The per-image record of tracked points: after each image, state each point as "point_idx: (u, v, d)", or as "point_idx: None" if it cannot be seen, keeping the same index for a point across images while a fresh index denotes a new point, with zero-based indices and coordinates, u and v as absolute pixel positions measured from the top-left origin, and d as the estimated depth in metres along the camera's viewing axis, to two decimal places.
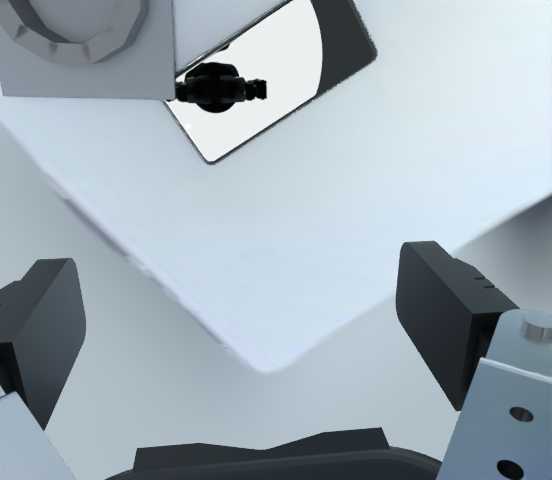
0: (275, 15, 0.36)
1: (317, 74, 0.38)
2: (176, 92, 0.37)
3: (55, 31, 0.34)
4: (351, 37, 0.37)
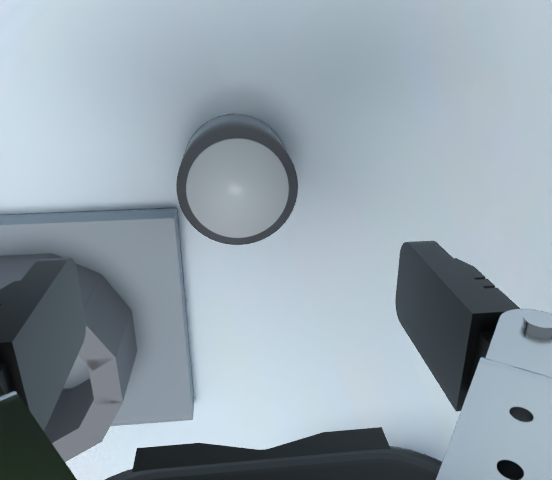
0: None
1: None
2: None
3: None
4: None
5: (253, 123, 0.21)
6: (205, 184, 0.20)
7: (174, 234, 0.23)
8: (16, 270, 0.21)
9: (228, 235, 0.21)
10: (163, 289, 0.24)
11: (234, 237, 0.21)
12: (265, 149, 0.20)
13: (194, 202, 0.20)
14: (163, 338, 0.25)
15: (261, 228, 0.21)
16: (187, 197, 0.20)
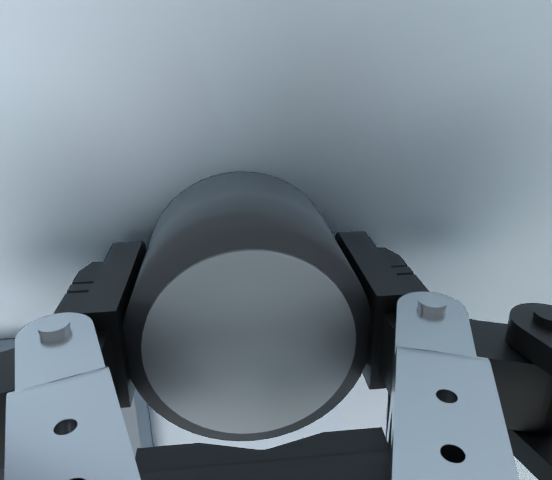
0: None
1: None
2: None
3: None
4: None
5: (279, 201, 0.11)
6: (182, 341, 0.09)
7: None
8: None
9: (230, 429, 0.10)
10: None
11: (243, 430, 0.11)
12: (310, 271, 0.09)
13: (159, 375, 0.10)
14: None
15: (297, 415, 0.10)
16: (144, 366, 0.10)
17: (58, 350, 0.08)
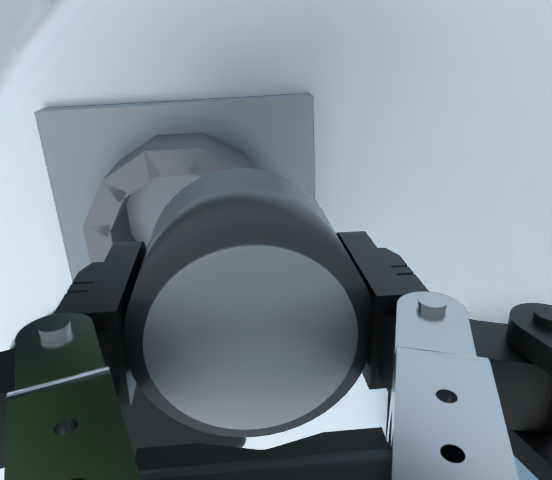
0: None
1: (142, 443, 0.34)
2: None
3: None
4: None
5: (281, 197, 0.11)
6: (184, 336, 0.09)
7: (312, 112, 0.26)
8: (182, 139, 0.24)
9: (232, 425, 0.10)
10: (298, 167, 0.27)
11: (244, 427, 0.10)
12: (312, 266, 0.09)
13: (161, 371, 0.10)
14: None
15: (298, 411, 0.10)
16: (146, 362, 0.10)
17: (59, 350, 0.08)
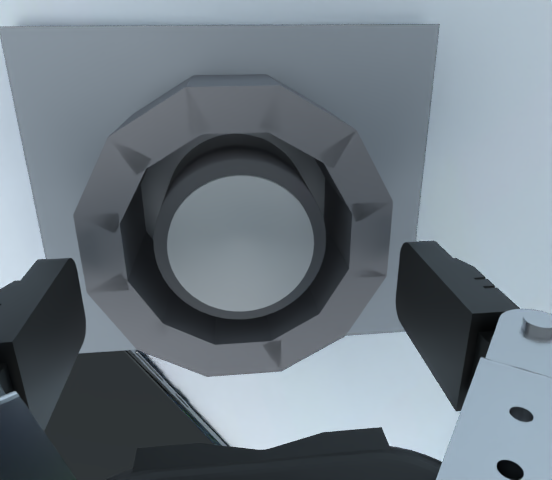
0: None
1: None
2: None
3: None
4: None
5: (262, 149, 0.15)
6: (195, 239, 0.14)
7: (435, 50, 0.17)
8: (240, 79, 0.15)
9: (227, 308, 0.15)
10: (404, 136, 0.18)
11: (236, 310, 0.15)
12: (281, 190, 0.14)
13: (179, 265, 0.14)
14: None
15: (274, 298, 0.15)
16: (169, 258, 0.14)
17: None
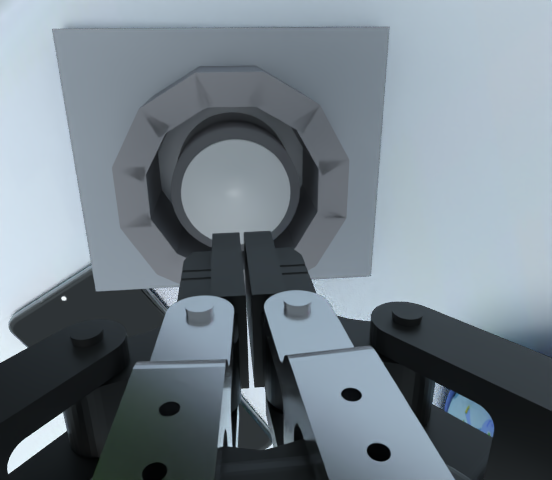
0: None
1: None
2: None
3: None
4: None
5: (252, 122, 0.20)
6: (201, 188, 0.19)
7: (386, 47, 0.22)
8: (235, 68, 0.19)
9: None
10: (365, 115, 0.23)
11: None
12: (265, 151, 0.18)
13: (190, 207, 0.19)
14: (355, 175, 0.24)
15: None
16: (182, 202, 0.19)
17: (196, 331, 0.08)
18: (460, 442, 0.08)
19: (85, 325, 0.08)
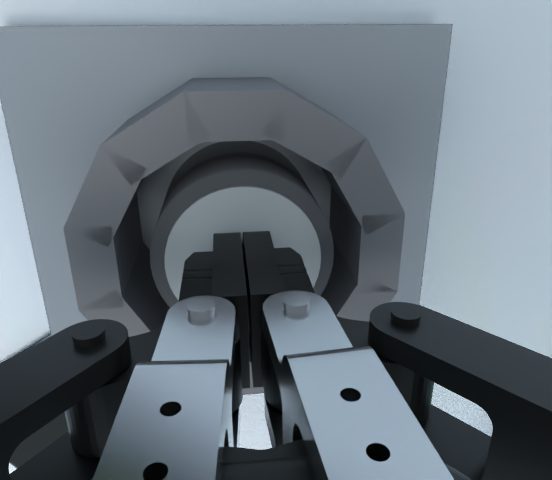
0: None
1: None
2: None
3: None
4: None
5: (265, 157, 0.14)
6: None
7: (448, 51, 0.16)
8: (242, 82, 0.14)
9: None
10: (414, 142, 0.17)
11: None
12: (286, 202, 0.13)
13: (177, 282, 0.13)
14: None
15: None
16: (166, 274, 0.13)
17: (198, 332, 0.08)
18: (459, 442, 0.08)
19: (87, 325, 0.08)
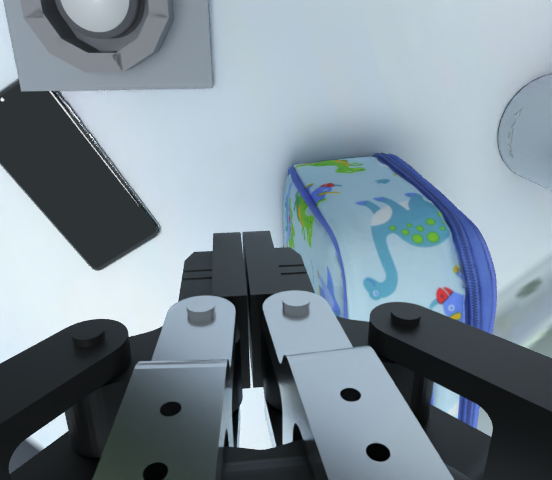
0: (119, 184, 0.41)
1: (73, 222, 0.41)
2: None
3: None
4: (108, 248, 0.43)
5: None
6: None
7: None
8: None
9: (91, 30, 0.32)
10: None
11: (96, 31, 0.32)
12: None
13: (65, 3, 0.31)
14: (192, 9, 0.35)
15: (113, 25, 0.32)
16: (61, 0, 0.31)
17: (198, 332, 0.08)
18: (459, 442, 0.08)
19: (87, 325, 0.08)
